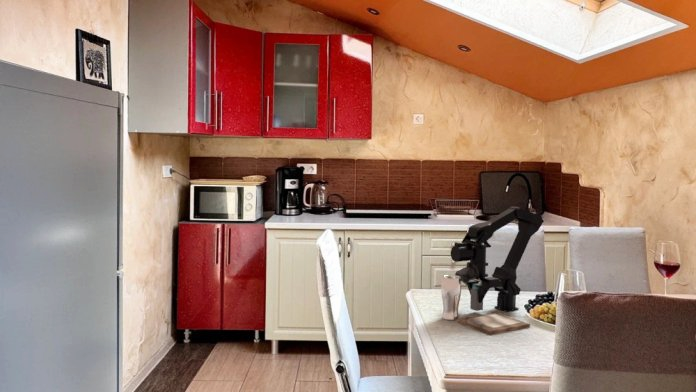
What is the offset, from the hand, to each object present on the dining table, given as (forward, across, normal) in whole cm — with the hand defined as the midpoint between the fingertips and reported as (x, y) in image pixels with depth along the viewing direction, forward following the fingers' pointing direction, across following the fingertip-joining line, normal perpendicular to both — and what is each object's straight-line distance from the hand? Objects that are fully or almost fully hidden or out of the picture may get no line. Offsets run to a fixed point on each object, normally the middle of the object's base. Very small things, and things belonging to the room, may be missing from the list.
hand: (476, 301), depth 212 cm
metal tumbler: (+4, +1, -13) cm, 14 cm away
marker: (+3, 0, 0) cm, 3 cm away
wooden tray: (+4, +14, -5) cm, 15 cm away
